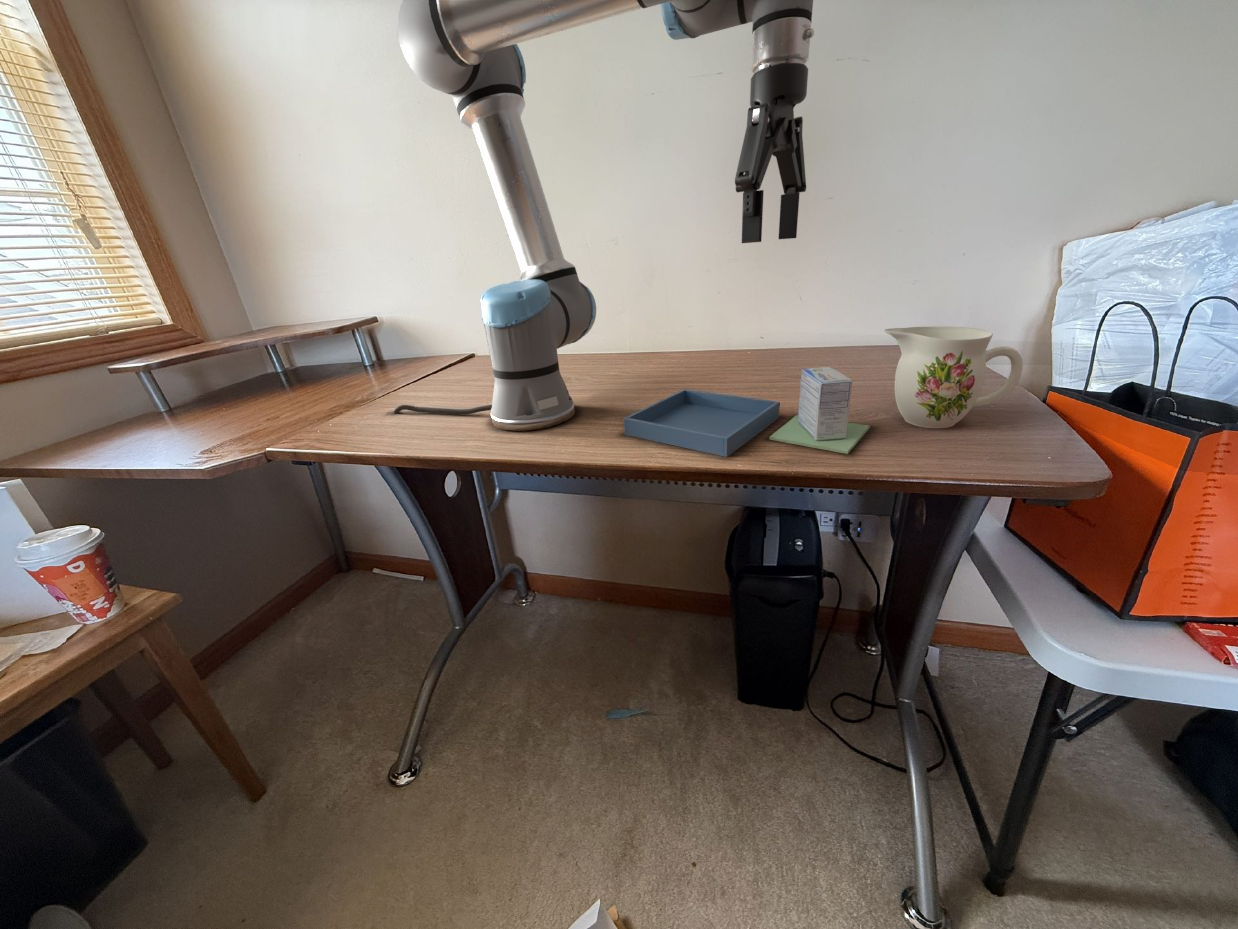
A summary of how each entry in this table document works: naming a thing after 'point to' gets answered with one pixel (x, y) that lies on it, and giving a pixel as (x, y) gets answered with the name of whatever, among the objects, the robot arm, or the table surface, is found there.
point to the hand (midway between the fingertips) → (770, 240)
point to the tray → (703, 421)
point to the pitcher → (946, 373)
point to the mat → (799, 436)
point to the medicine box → (824, 403)
